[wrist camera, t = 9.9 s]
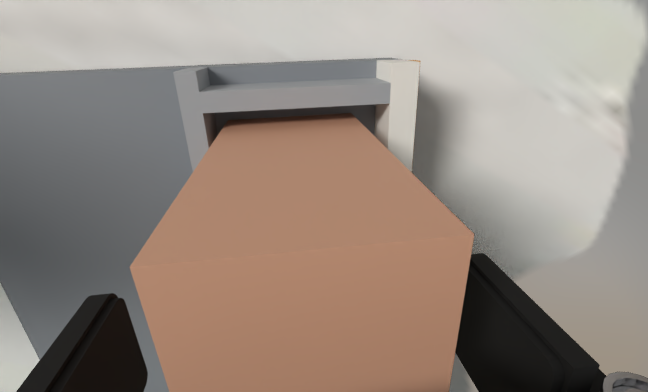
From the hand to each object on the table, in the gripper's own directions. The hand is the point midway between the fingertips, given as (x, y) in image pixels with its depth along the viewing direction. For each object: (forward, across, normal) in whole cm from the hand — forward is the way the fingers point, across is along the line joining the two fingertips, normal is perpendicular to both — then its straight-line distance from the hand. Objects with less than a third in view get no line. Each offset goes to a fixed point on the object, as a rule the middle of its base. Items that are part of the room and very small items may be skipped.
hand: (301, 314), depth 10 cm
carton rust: (+6, 0, 0) cm, 7 cm away
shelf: (+8, +4, +4) cm, 10 cm away
